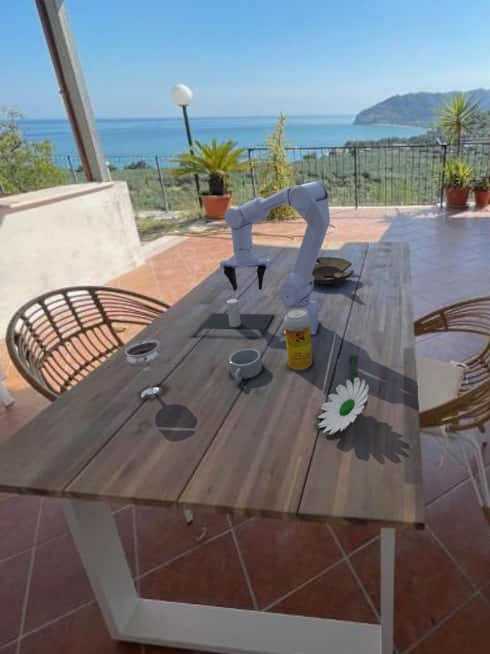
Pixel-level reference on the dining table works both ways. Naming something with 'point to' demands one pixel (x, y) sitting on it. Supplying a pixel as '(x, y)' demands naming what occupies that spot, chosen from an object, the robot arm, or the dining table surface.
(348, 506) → the dining table surface
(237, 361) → the steel mug
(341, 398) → the flower
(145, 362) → the wineglass
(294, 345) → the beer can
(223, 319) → the rubber mat
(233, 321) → the white peg
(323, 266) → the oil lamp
